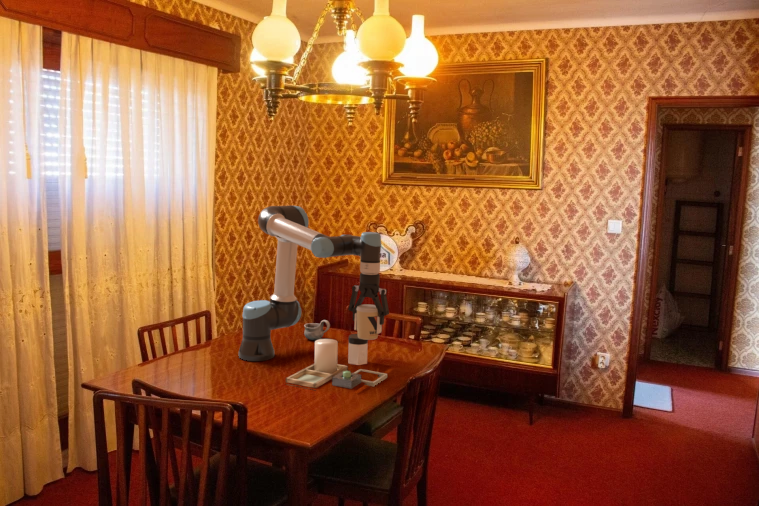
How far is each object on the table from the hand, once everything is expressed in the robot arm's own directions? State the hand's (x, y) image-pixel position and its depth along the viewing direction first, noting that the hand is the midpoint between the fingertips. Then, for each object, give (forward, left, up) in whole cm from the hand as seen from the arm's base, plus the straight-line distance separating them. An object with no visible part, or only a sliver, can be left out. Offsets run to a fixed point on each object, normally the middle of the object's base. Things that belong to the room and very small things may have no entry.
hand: (367, 330), depth 233 cm
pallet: (-17, -8, -19) cm, 27 cm away
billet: (-17, -2, -18) cm, 25 cm away
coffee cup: (0, 0, -3) cm, 3 cm away
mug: (-46, +40, -20) cm, 64 cm away
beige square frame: (0, 0, -19) cm, 19 cm away
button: (-3, -11, -18) cm, 21 cm away
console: (-3, -11, -19) cm, 22 cm away
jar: (-12, +16, -19) cm, 28 cm away
